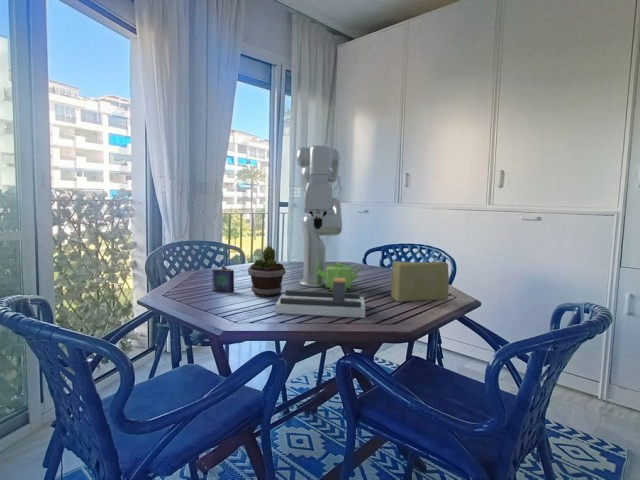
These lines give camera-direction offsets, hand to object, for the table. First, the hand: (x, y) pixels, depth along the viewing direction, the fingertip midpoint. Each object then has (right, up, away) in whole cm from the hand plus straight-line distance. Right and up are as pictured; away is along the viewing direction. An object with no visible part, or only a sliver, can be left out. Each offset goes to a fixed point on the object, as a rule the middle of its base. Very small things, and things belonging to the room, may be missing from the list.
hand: (317, 228), depth 145 cm
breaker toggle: (+7, -25, -11) cm, 29 cm away
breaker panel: (+1, -28, -10) cm, 30 cm away
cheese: (+41, -28, +8) cm, 50 cm away
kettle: (+9, -26, +20) cm, 34 cm away
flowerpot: (-21, -26, +8) cm, 34 cm away
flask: (-38, -25, +11) cm, 47 cm away
